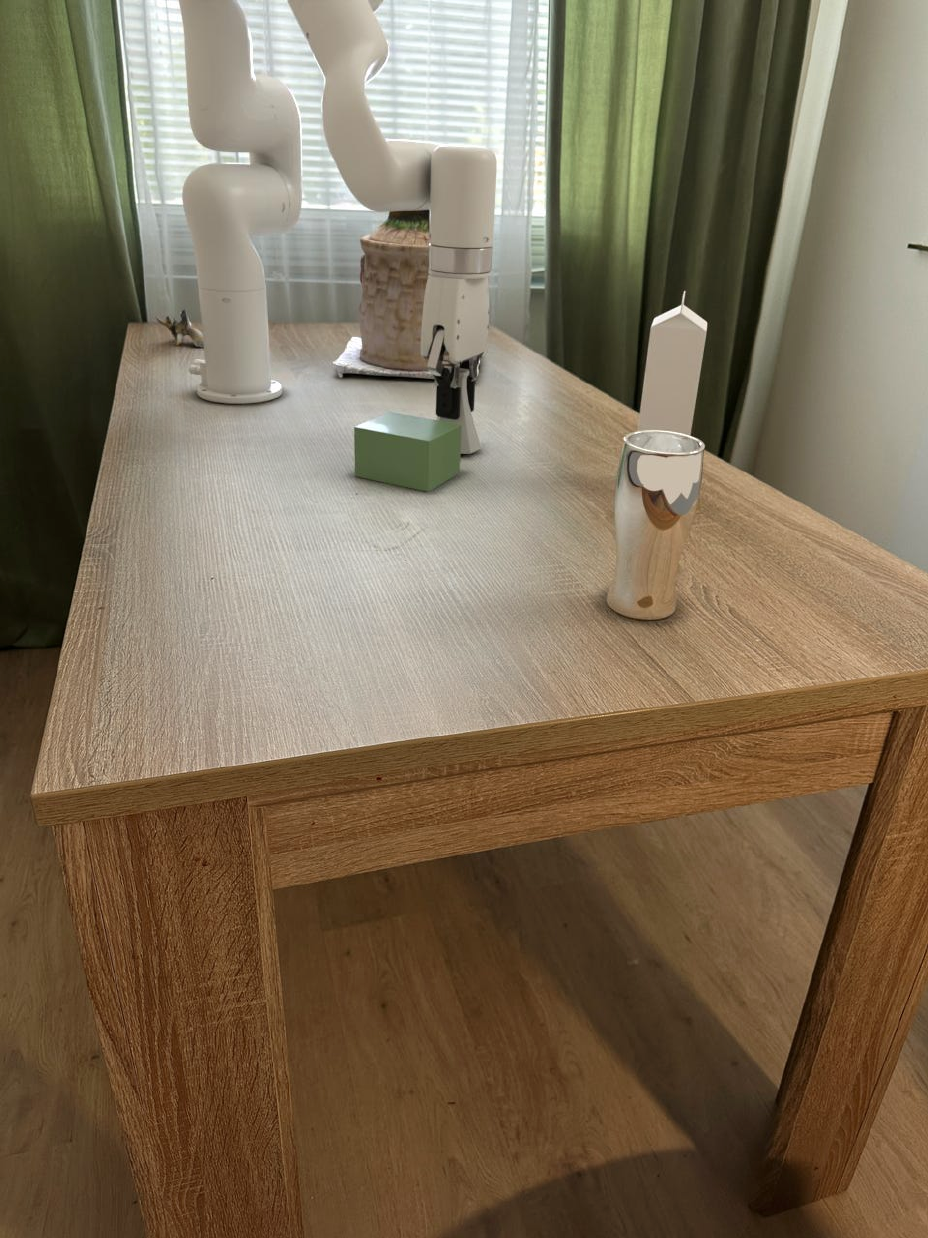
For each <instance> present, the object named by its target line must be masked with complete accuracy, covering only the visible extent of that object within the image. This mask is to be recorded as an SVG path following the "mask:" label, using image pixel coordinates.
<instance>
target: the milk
mask: <svg viewBox="0 0 928 1238" xmlns="http://www.w3.org/2000/svg"><path fill="white" fill-rule="evenodd" d="M681 298H682V299H681V304H680V305H678V306H677V307H674V308H672V309H669V310H668V311H665V312H664V313H661V314H660V315H657V316H655V317H654V318H653V321H652V323H651V326H650V332H649V338H648V346H647V354H646V362H645V369H644V377H643V385H642V391H641V393H642V394H641V401H640V408H639V416H638V423H637V431H642V430H663V431H672V432H678V433H682V434H686V435H690V436H692V434H691V433H692V428H693V422H694V415H695V409H696V401H697V397H698V395H697V394H698V390H699V389H698V388H699V383H700V377H701V370H702V363H703V359H704V358H703V357H704V350H705V345H706V338H707V330H708V322H707V321H706V320H705V319H704V318H702V316H700V315H698V314H697V313H696V312H694V311H693V310H692V309H690V308H689V307H688V306H686V305H685V298H686V290H684V291H683V294H682V297H681Z"/></svg>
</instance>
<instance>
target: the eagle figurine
mask: <svg viewBox="0 0 928 1238" xmlns="http://www.w3.org/2000/svg"><path fill="white" fill-rule="evenodd" d="M179 312H180V313H179V314H180V318H181V320H180V321H179V322H178V320H177V318H175V317H173V322H172V320H171V318H170V316H169V315H167V316H166V317H165V321H163V320H162V319H160V318H159V317H158V316H155V320H156V321H157V322H158V323H159V324H161V325H163V326H165V327H166V328H167V329H168V331H169V332H171V335H172V336H173V338H174V340H175V341H176V344H175V345H176V346H179V344H181V343H182V342H183V339H184V337H185V336H189V337H190V338H191V340H192V341H193V345H195V347H197V348H203V349H204V344H203V333H202V331H201V330H198V329H197V328H194V327H193V325H192V323H191V321H190V316H189V314H188V312H187V310H186V308H183V309H182V310H181V311H179Z"/></svg>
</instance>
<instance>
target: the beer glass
mask: <svg viewBox="0 0 928 1238" xmlns="http://www.w3.org/2000/svg"><path fill="white" fill-rule="evenodd" d="M705 448H706V444H705V443H704V442H703V440H700V439H699V438H697V437H696V436H692V435H686V434H682V433H678V432H672V431H663V430H642V431H638V430H636V431H632V432H629V433H626V434H625V435H624V437H623V444H622V449H621V453H620V457H619V463H618V467H617V473H616V480H615V487H614V496H613V497H614V498H613V520H614V535H615V566H614V567H615V568H614V573H613V577H612V579H611V583H610V586H609V588H608V591H607V595H606V604H607V606H608V607H609V608H610V609H611V610H612V611H613V612H615V613H617V614H618V615H620V616H622V617H626V618H630V619H634V620H635V619H636V620H640V621H657V620H662V619H663V620H664V619H665V618H668V617H670V616H671V615H673V614H674V612H675V611H676V608H677V595H676V594H677V593H676V580H677V573H678V567H679V564H680V560H681V557H682V555H683V552H684V549H685V546H686V543H687V540H688V538H689V536H690V532H691V529H692V526H693V523H694V520H695V516H696V514H697V513H696V512H697V510H698V505H699V500H700V496H701V489H702V481H703V480H702V479H703V469H704V454H705Z"/></svg>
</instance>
